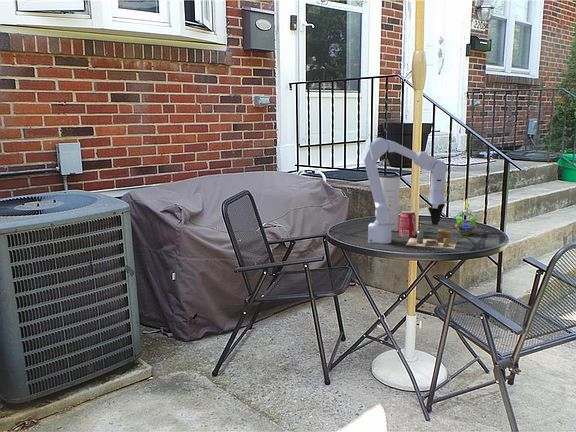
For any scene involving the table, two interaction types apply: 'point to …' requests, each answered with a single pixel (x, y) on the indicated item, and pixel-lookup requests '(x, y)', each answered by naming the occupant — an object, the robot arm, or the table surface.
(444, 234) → the block
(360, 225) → the table surface
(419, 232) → the peg
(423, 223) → the table surface
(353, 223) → the table surface
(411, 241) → the board
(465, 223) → the toy helicopter
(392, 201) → the white tumbler
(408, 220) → the soda can
